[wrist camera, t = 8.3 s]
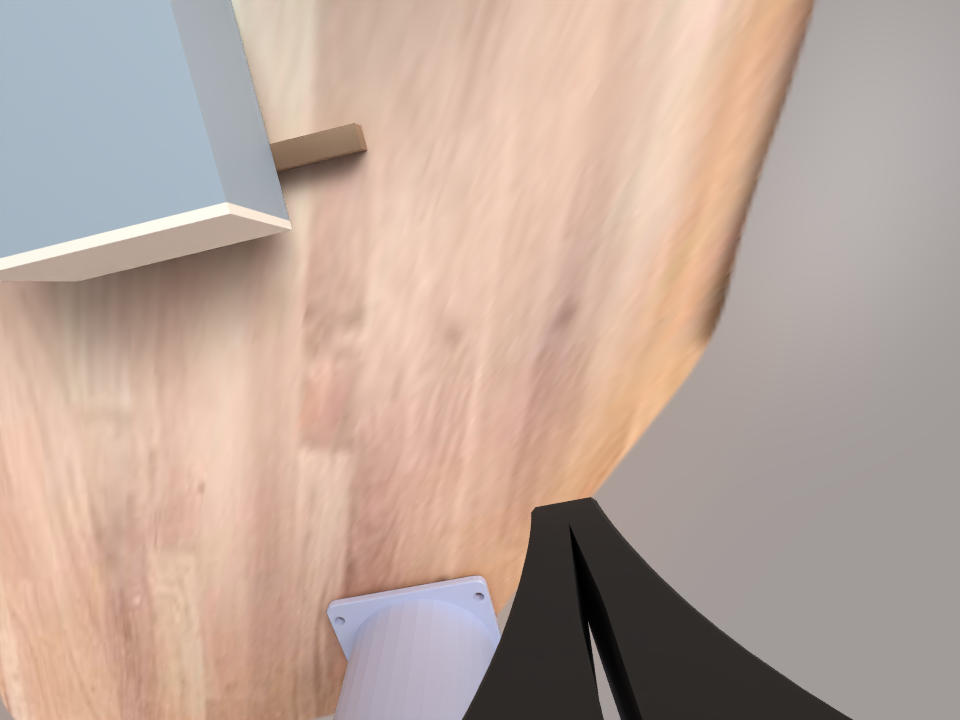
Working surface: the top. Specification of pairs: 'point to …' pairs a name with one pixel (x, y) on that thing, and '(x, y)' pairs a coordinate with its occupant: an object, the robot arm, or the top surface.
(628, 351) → the top surface
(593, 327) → the top surface
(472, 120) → the top surface
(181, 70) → the block
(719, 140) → the top surface
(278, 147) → the batten
